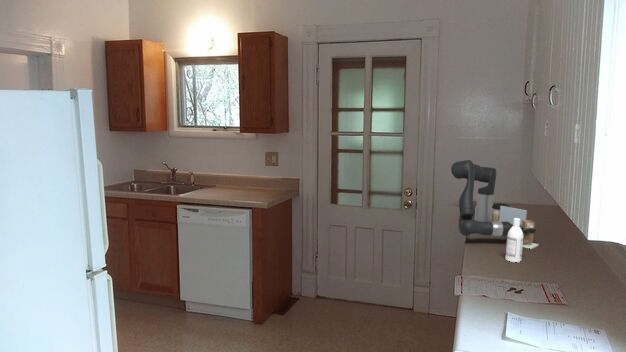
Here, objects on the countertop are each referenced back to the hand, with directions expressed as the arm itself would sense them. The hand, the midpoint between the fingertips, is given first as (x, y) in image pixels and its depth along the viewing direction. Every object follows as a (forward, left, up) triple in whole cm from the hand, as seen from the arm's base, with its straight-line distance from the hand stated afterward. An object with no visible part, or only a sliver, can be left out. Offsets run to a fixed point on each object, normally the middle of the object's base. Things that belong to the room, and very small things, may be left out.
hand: (532, 229), depth 256 cm
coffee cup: (-24, +14, -9) cm, 29 cm away
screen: (-14, +7, -8) cm, 18 cm away
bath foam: (+4, -31, -9) cm, 32 cm away
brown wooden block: (-2, -2, -6) cm, 7 cm away
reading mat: (-2, -2, -8) cm, 9 cm away
